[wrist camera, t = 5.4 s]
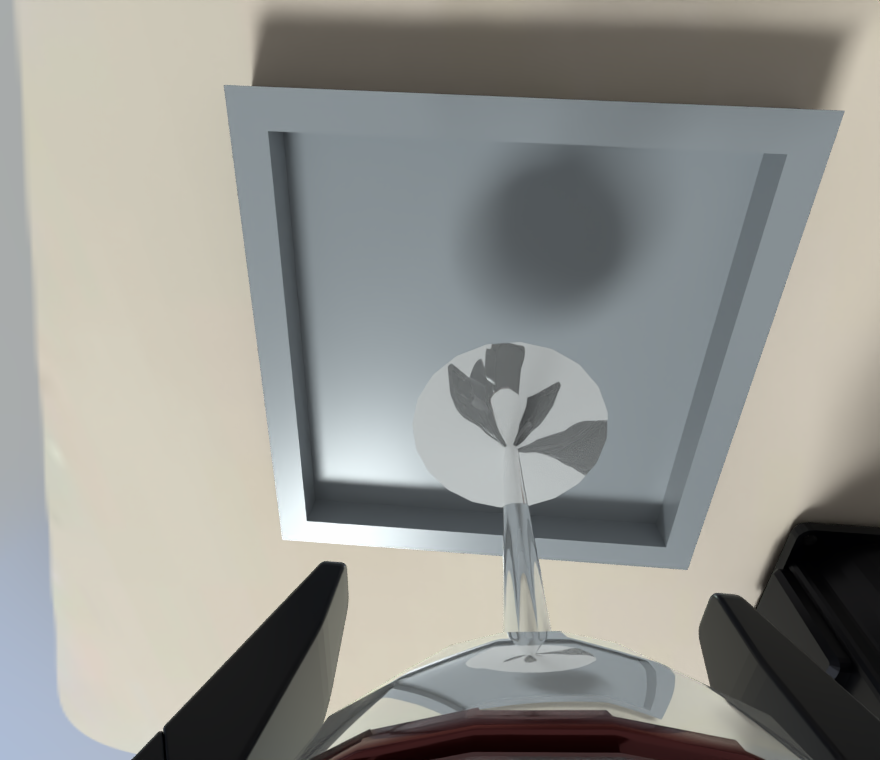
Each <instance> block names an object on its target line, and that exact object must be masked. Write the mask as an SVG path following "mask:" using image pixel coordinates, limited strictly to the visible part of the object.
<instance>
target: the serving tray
mask: <svg viewBox="0 0 880 760" xmlns="http://www.w3.org/2000/svg"><path fill="white" fill-rule="evenodd" d="M224 91H225V98H226V106H227V114H228V122H229V129H230V137H231V145H232V153H233V160H234V168H235V176H236V184H237V191H238V199H239V207H240V215H241V222H242V230H243V238H244V246H245V253H246V261H247V269H248V277H249V284H250V292H251V300H252V308H253V315H254V323H255V331H256V339H257V346H258V354H259V362H260V370H261V377H262V385H263V393H264V401H265V408H266V416H267V424H268V432H269V439H270V447H271V455H272V463H273V470H274V478H275V486H276V494H277V501H278V509H279V517H280V525H281V532H282V540H294V541H307V542H320V543H334V544H347V545H361V546H374V547H388V548H401V549H414V550H428V551H441V552H455V553H468V554H481V555H495V556H503V507H495V506H491V505H486V504H481V503H476V502H472V501H470V500H468V499H466V498H464V497H462V496H460V495H458V494H456V493H454V492H452V491H450V490H448V489H447V488H446V487H444V486H443V485H442V484H441V483H440V482H439V481H438V480H437V479H436V478H435V477H434V476H433V475H432V474H430V473H429V472H428V470H427V468H426V466H425V464H424V463H423V461H422V459H421V457H420V455H419V454H418V452H417V450H416V445H415V439H414V432H413V426H412V423H413V418H414V414H415V409H416V404H417V400H418V397H419V396H420V394H421V393H422V391H423V390H424V388H425V386H426V385H427V383H428V382H429V380H430V379H431V377H432V376H433V374H435V373H436V372H437V371H438V370H440V369H441V368H442V367H443V366H445V365H446V364H447V363H449V362H450V361H451V360H452V359H454V358H455V357H456V356H458V355H461V354H463V353H466V352H468V351H471V350H474V349H476V348H479V347H482V346H484V345H487V344H500V343H513V342H523V343H527V344H532V345H536V346H541V347H546V348H550V349H553V350H555V351H557V352H558V353H560V354H562V355H564V356H565V357H567V358H569V359H571V360H572V361H574V362H576V363H578V364H579V365H580V366H581V367H582V368H583V369H584V370H585V372H586V373H587V374H588V375H589V376H590V377H591V379H592V380H593V381H594V382H595V383H596V384H597V386H598V387H599V389H600V392H601V395H602V398H603V401H604V403H605V406H606V409H607V412H608V421H607V440H606V442H605V444H604V447H603V449H602V452H601V454H600V456H599V459H598V461H597V463H596V464H595V466H594V467H593V468H592V469H591V470H590V471H589V472H588V473H587V475H586V476H585V477H584V478H583V479H582V480H581V481H580V482H579V483H578V484H577V485H575V486H574V487H572V488H570V489H569V490H567V491H565V492H564V493H562V494H561V495H559V496H557V497H556V498H553V499H550V500H547V501H543V502H540V503H537V504H533V505H530V506H529V511H530V516H531V522H532V527H533V532H534V538H535V543H536V549H537V554H538V559H549V560H562V561H575V562H589V563H602V564H616V565H629V566H642V567H656V568H669V569H683V570H688V567H689V564H690V561H691V558H692V555H693V552H694V549H695V546H696V544H697V541H698V538H699V535H700V532H701V529H702V526H703V523H704V520H705V517H706V514H707V511H708V508H709V506H710V503H711V500H712V497H713V494H714V491H715V488H716V485H717V482H718V479H719V476H720V473H721V471H722V468H723V465H724V462H725V459H726V456H727V453H728V450H729V447H730V444H731V441H732V438H733V435H734V433H735V430H736V427H737V424H738V421H739V418H740V415H741V412H742V409H743V406H744V403H745V400H746V398H747V395H748V392H749V389H750V386H751V383H752V380H753V377H754V374H755V371H756V368H757V365H758V363H759V360H760V357H761V354H762V351H763V348H764V345H765V342H766V339H767V336H768V333H769V330H770V327H771V325H772V322H773V319H774V316H775V313H776V310H777V307H778V304H779V301H780V298H781V295H782V292H783V290H784V287H785V284H786V281H787V278H788V275H789V272H790V269H791V266H792V263H793V260H794V257H795V254H796V252H797V249H798V246H799V243H800V240H801V237H802V234H803V231H804V228H805V225H806V222H807V219H808V217H809V214H810V211H811V208H812V205H813V202H814V199H815V196H816V193H817V190H818V187H819V184H820V181H821V179H822V176H823V173H824V170H825V167H826V164H827V161H828V158H829V155H830V152H831V149H832V146H833V144H834V141H835V138H836V135H837V132H838V129H839V126H840V123H841V120H842V117H843V114H844V111H837V110H813V109H789V108H765V107H741V106H717V105H693V104H669V103H645V102H621V101H597V100H573V99H549V98H525V97H501V96H476V95H452V94H428V93H404V92H380V91H356V90H332V89H308V88H284V87H260V86H236V85H224Z"/></svg>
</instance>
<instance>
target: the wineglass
mask: <svg viewBox="0 0 880 760" xmlns="http://www.w3.org/2000/svg"><path fill="white" fill-rule="evenodd" d="M607 421H608V412H607V409H606V406H605V403H604V401H603V398H602V395H601V392H600V389H599V387H598V386H597V384H596V383H595V382H594V381H593V380H592V379H591V377H590V376H589V375H588V374H587V373H586V372H585V370H584V369H583V368H582V367H581V366H580V365H579V364H578V363H576V362H574V361H572V360H571V359H569V358H567V357H565V356H564V355H562V354H560V353H558V352H557V351H555V350H553V349H550V348H546V347H541V346H536V345H532V344H527V343H523V342H513V343H500V344H487V345H484V346H482V347H479V348H476V349H474V350H471V351H468V352H466V353H463V354H461V355H458V356H456V357H455V358H454V359H452V360H451V361H450V362H449V363H447V364H446V365H445V366H443V367H442V368H441V369H440V370H438V371H437V372H436V373H435V374H433V376H432V377H431V379H430V380H429V382H428V383H427V385H426V386H425V388H424V390H423V391H422V393H421V394H420V396H419V397H418V400H417V404H416V409H415V414H414V418H413V423H412V426H413V432H414V439H415V445H416V450H417V452H418V454H419V455H420V457H421V459H422V461H423V463H424V464H425V466H426V468H427V470H428V472H429V473H430V474H432V475H433V476H434V477H435V478H436V479H437V480H438V481H439V482H440V483H441V484H442V485H443V486H444V487H446V488H447V489H448V490H450V491H452V492H454V493H456V494H458V495H460V496H462V497H464V498H466V499H468V500H470V501H472V502H476V503H481V504H486V505H491V506H495V507H503V632H502V633H498V634H494V635H489V636H485V637H481V638H477V639H473V640H469V641H465V642H461V643H456V644H452V645H450V646H448V647H446V648H444V649H443V650H441V651H439V652H437V653H435V654H433V655H432V656H430V657H428V658H426V659H424V660H422V661H421V662H419V663H417V664H415V665H413V666H411V667H410V668H408V669H406V670H405V671H403V672H401V673H400V674H398V675H397V676H395V677H393V678H392V679H390V680H388V681H387V682H385V683H383V684H382V685H380V686H378V687H377V688H375V689H373V690H372V691H370V692H368V693H367V694H365V695H363V696H362V697H360V698H359V699H357V700H355V701H354V702H352V703H350V704H349V705H347V706H345V707H344V708H342V709H340V710H339V711H337V712H335V713H334V714H332V715H330V716H329V717H328V718H327V720H326V721H325V722H324V723H323V724H322V726H321V727H320V728H319V729H318V730H317V732H316V733H315V734H314V735H313V737H312V738H311V739H310V740H309V741H308V743H307V744H306V745H305V746H304V747H303V749H302V750H301V751H300V752H299V754H298V755H297V756H296V757H295V758H294V760H814V759H813V758H812V757H811V756H810V755H809V754H808V753H807V752H806V751H805V750H804V749H803V748H802V747H801V746H800V745H799V744H798V743H797V742H796V741H795V740H794V739H793V738H792V737H791V736H790V735H789V734H788V733H787V732H786V731H785V730H784V729H783V728H782V727H781V726H780V725H779V724H778V723H777V722H776V721H775V720H774V719H773V718H772V717H771V716H770V715H768V714H766V713H764V712H762V711H760V710H758V709H756V708H753V707H751V706H749V705H747V704H745V703H743V702H741V701H739V700H737V699H735V698H732V697H730V696H728V695H726V694H724V693H722V692H720V691H718V690H716V689H714V688H711V687H709V686H707V685H705V684H703V683H701V682H699V681H697V680H695V679H693V678H690V677H688V676H686V675H684V674H682V673H680V672H678V671H676V670H674V669H672V668H669V667H667V666H665V665H663V664H661V663H659V662H657V661H655V660H653V659H650V658H648V657H646V656H644V655H642V654H640V653H638V652H636V651H633V650H631V649H629V648H627V647H625V646H623V645H621V644H619V643H617V642H612V641H607V640H602V639H597V638H592V637H587V636H582V635H577V634H572V633H567V632H562V631H552V630H551V624H550V619H549V613H548V608H547V603H546V597H545V592H544V586H543V581H542V576H541V570H540V565H539V559H538V554H537V549H536V543H535V538H534V532H533V527H532V522H531V516H530V511H529V506H530V505H533V504H537V503H540V502H543V501H547V500H550V499H553V498H556V497H557V496H559V495H561V494H562V493H564V492H565V491H567V490H569V489H570V488H572V487H574V486H575V485H577V484H578V483H579V482H580V481H581V480H582V479H583V478H584V477H585V476H586V475H587V473H588V472H589V471H590V470H591V469H592V468H593V467H594V466H595V464H596V463H597V461H598V459H599V456H600V454H601V452H602V449H603V447H604V444H605V442H606V440H607Z"/></svg>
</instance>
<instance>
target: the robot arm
mask: <svg viewBox="0 0 880 760" xmlns="http://www.w3.org/2000/svg"><path fill="white" fill-rule="evenodd" d="M807 536H808V537H807ZM348 598H349V596H348V577H347V567H346V565H345V564H344V563H342V562H329V561H324V562H322V563H320V564H319V565H318V566H317V567H316V568H315V569H314V570H313V571H312V572H311V574H310V575H309V576H308V577H307V578H306V579H305V580H304V581H303V582H302V583H301V584H300V585H299V586H298V587H297V588H296V589H295V590H294V591H293V592H292V593H291V594H290V595H289V596H288V598H287V599H286V600H285V601H284V602H283V603H282V604H281V605H280V606H279V607H278V608H277V609H276V610H275V611H274V612H273V613H272V614H271V615H270V616H269V617H268V618H267V619H266V620H265V622H264V623H263V624H262V625H261V626H260V627H259V628H258V629H257V630H256V631H255V632H254V633H253V634H252V635H251V636H250V637H249V638H248V639H247V640H246V641H245V642H244V643H243V644H242V646H241V647H240V648H239V649H238V650H237V651H236V652H235V653H234V654H233V655H232V656H231V657H230V658H229V659H228V660H227V661H226V662H225V663H224V664H223V665H222V666H221V667H220V668H219V669H218V671H217V672H216V673H215V674H214V675H213V676H212V677H211V678H210V679H209V680H208V681H207V682H206V683H205V684H204V685H203V686H202V687H201V688H200V689H199V690H198V691H197V692H196V693H195V695H194V696H193V697H192V698H191V699H190V700H189V701H188V702H187V703H186V704H185V705H184V706H183V707H182V708H181V709H180V710H179V711H178V712H177V713H176V714H175V715H174V716H173V717H172V719H171V720H170V721H169V722H168V723H167V724H166V725H165V726H164V728H163V732H162V731H159V732H158V733H157V734H156V735H155V736H154V737H153V738H152V739H151V740H150V741H149V742H148V743H147V744H146V745H145V746H144V747H143V748H142V750H141V751H140V752H139V753H138V754H137V755H136V756H135V757H134V758H133V759H132V760H294V758H295V757H296V756H297V755H298V754H299V752H300V751H301V750H302V749H303V747H304V746H305V745H306V744H307V743H308V741H309V740H310V739H311V738H312V737H313V735H314V734H315V733H316V732H317V730H318V729H319V728H320V727H321V726H322V724H323V722H324V719H325V715H326V712H327V708H328V704H329V701H330V696H331V692H332V687H333V682H334V677H335V672H336V667H337V661H338V656H339V651H340V646H341V640H342V635H343V630H344V625H345V620H346V614H347V609H348ZM699 640H700V645H701V649H702V653H703V657H704V662H705V666H706V670H707V674H708V679H709V683H710V687H711V688H714V689H716V690H718V691H720V692H722V693H724V694H726V695H728V696H730V697H732V698H735V699H737V700H739V701H741V702H743V703H745V704H747V705H749V706H751V707H753V708H756V709H758V710H760V711H762V712H764V713H766V714H768V715H770V716H771V717H772V718H773V719H774V720H775V721H776V722H777V723H778V724H779V725H780V726H781V727H782V728H783V729H784V730H785V731H786V732H787V733H788V734H789V735H790V736H791V737H792V738H793V739H794V740H795V741H796V742H797V743H798V744H799V745H800V746H801V747H802V748H803V749H804V750H805V751H806V752H807V753H808V754H809V755H810V756H811V757H812V758H813V759H814V760H880V528H876V527H862V526H848V525H834V524H820V523H802V524H799V525H797V526H796V527H794V528H793V529H792V531H791V532H790V535H789V537H788V539H787V541H786V544H785V546H784V548H783V550H782V553H781V555H780V557H779V559H778V562H777V564H776V566H775V568H774V571H773V573H772V575H771V577H770V580H769V582H768V584H767V586H766V589H765V591H764V593H763V595H762V598H761V600H760V602H759V605H758V607H757V609H755V608H754V607H753V606H752V605H750V604H749V603H748V602H747V601H746V600H745V599H744V598H742V597H741V596H739V595H735V594H723V593H714V594H713V595H712V596H711V597H710V599H709V601H708V604H707V607H706V609H705V612H704V615H703V617H702V620H701V623H700V626H699Z"/></svg>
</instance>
